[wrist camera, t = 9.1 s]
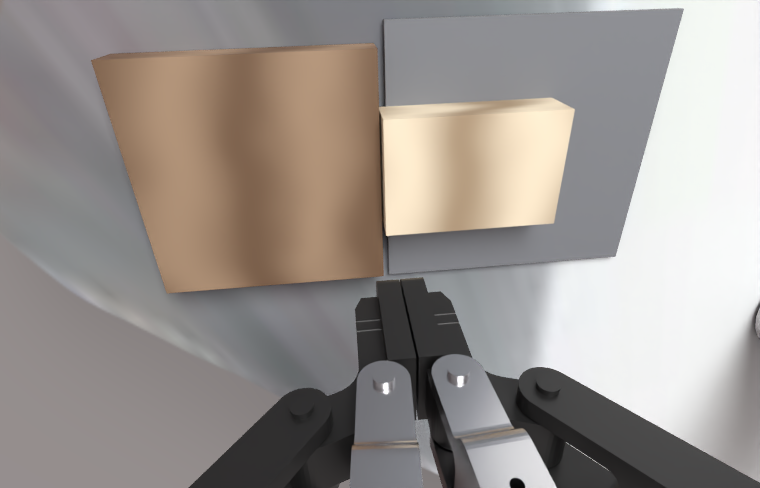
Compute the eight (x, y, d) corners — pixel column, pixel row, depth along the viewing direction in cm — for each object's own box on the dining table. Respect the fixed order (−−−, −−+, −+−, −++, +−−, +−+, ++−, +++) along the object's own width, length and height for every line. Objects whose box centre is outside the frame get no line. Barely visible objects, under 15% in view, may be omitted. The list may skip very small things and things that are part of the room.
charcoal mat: (678, 8, 22) (684, 8, 22) (612, 253, 29) (615, 256, 29) (383, 19, 21) (384, 19, 21) (388, 270, 28) (389, 274, 28)
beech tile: (551, 97, 23) (575, 109, 21) (535, 203, 26) (553, 223, 24) (377, 106, 23) (383, 119, 20) (381, 214, 26) (386, 236, 23)
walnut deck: (373, 43, 21) (377, 48, 20) (380, 257, 27) (383, 276, 26) (111, 54, 21) (91, 60, 19) (177, 273, 27) (167, 293, 25)
